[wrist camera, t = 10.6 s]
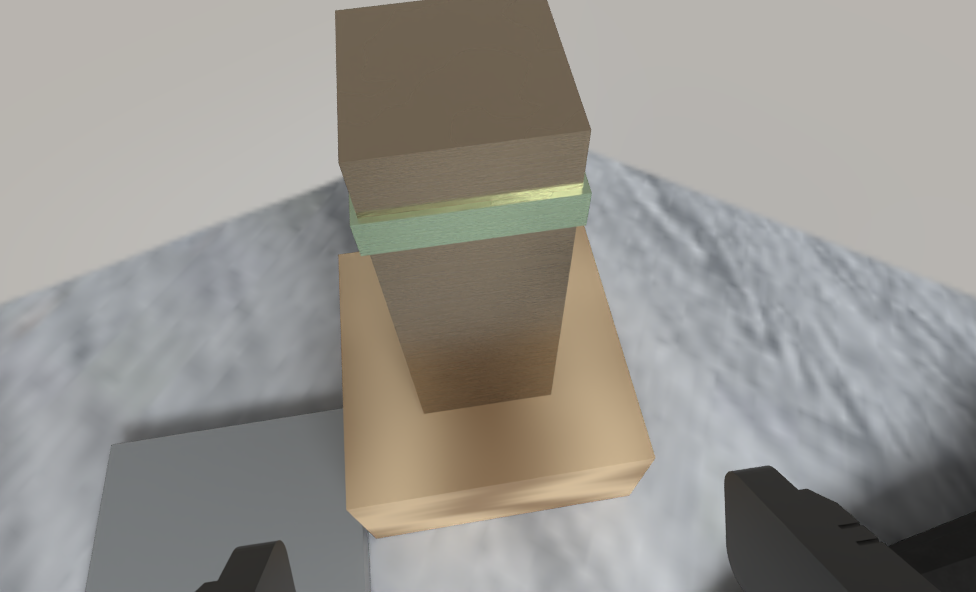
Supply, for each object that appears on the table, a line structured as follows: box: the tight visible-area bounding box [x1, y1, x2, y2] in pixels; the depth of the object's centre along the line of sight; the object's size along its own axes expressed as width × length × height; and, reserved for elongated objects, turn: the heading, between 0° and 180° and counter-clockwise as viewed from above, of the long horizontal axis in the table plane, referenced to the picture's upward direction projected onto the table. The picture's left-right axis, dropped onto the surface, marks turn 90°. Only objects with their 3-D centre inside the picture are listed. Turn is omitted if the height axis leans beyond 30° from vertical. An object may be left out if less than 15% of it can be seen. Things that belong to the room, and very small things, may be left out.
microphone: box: [888, 511, 976, 592], centre depth 20 cm, size 6×6×20 cm
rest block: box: [338, 226, 655, 539], centre depth 24 cm, size 10×10×5 cm
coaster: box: [85, 408, 371, 592], centre depth 22 cm, size 10×10×1 cm
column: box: [335, 0, 592, 414], centre depth 17 cm, size 5×5×12 cm
